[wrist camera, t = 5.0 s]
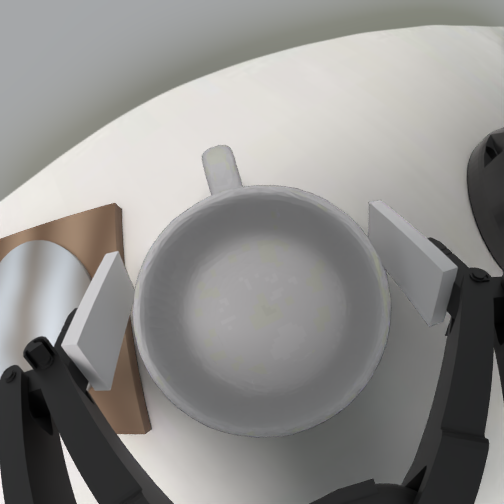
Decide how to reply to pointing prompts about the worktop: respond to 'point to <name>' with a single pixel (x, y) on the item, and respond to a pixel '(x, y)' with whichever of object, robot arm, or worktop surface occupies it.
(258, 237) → the teacup
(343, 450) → the worktop surface
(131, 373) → the walnut board
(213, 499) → the worktop surface
